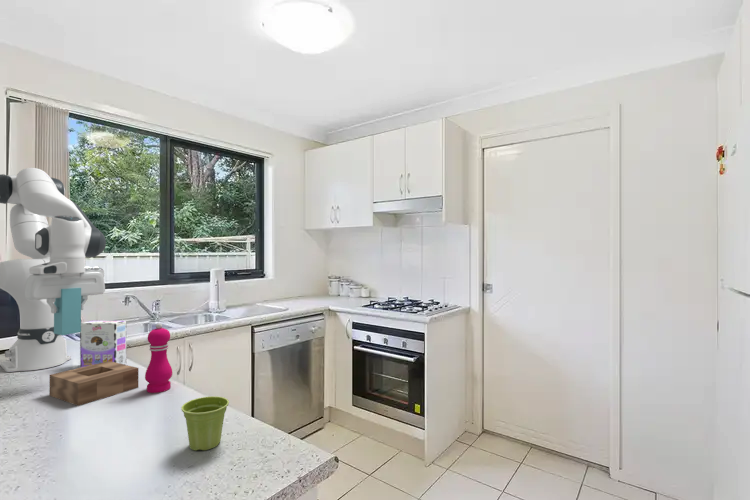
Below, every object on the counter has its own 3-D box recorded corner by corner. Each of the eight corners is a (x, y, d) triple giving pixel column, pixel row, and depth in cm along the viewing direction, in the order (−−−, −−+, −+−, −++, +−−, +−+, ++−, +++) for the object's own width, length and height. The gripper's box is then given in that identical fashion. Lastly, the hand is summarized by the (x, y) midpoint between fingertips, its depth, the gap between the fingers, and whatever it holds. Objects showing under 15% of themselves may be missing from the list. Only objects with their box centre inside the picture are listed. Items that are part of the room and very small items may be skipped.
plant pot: (215, 430, 90) (215, 392, 90) (237, 442, 84) (237, 402, 84) (173, 445, 83) (173, 405, 83) (194, 460, 77) (194, 417, 77)
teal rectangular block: (53, 333, 119) (54, 288, 120) (72, 330, 124) (72, 287, 124) (62, 335, 117) (62, 289, 117) (80, 332, 122) (81, 287, 122)
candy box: (127, 364, 142) (127, 320, 142) (115, 369, 136) (115, 323, 136) (92, 363, 143) (92, 319, 143) (79, 368, 137) (79, 322, 138)
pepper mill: (160, 394, 112) (160, 325, 112) (139, 392, 114) (139, 324, 114) (177, 386, 119) (177, 321, 119) (157, 384, 121) (157, 320, 121)
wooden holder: (49, 395, 111) (49, 374, 111) (109, 379, 126) (109, 361, 126) (78, 405, 104) (78, 383, 104) (138, 387, 118) (138, 367, 118)
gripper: (98, 266, 131) (98, 306, 131) (22, 268, 113) (21, 315, 113) (109, 266, 128) (109, 308, 128) (32, 268, 110) (31, 317, 110)
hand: (67, 311), depth 121 cm, fingers closed on teal rectangular block, 5 cm apart
